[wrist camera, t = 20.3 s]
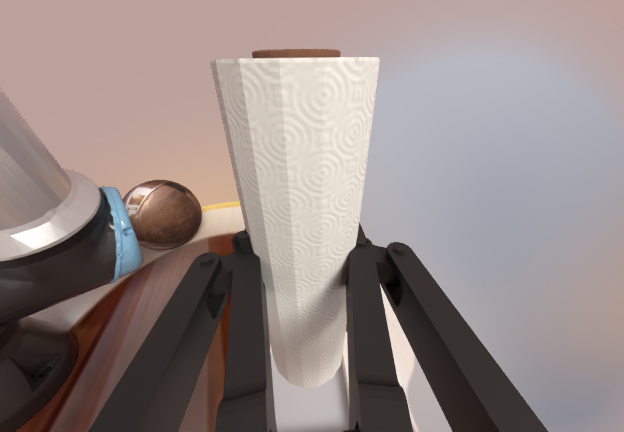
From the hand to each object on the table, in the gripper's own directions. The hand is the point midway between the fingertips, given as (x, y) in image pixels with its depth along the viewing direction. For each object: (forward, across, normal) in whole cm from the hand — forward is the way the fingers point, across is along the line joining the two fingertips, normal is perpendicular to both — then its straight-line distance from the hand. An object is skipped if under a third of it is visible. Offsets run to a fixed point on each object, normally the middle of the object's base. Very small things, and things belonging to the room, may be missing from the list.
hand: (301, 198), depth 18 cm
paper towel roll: (-6, +1, -12) cm, 14 cm away
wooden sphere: (+28, -30, -26) cm, 49 cm away
